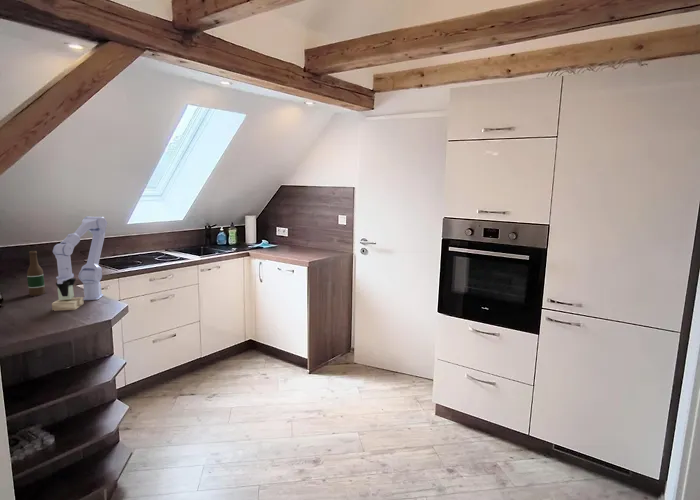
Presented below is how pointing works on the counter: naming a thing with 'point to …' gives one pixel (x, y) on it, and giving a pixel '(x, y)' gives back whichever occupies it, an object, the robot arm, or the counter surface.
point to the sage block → (70, 293)
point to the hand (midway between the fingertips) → (67, 294)
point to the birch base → (68, 304)
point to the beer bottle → (35, 276)
